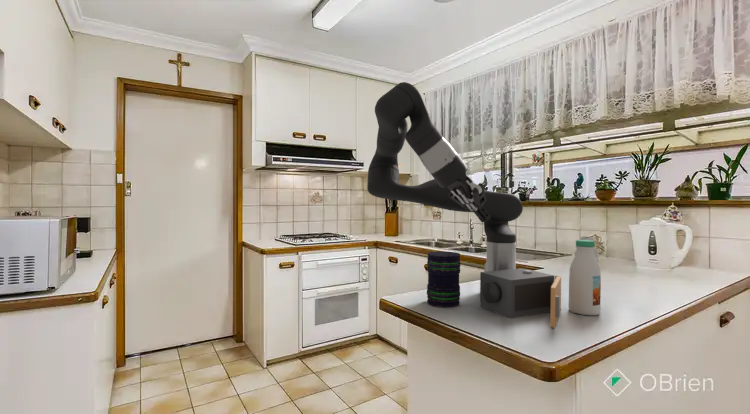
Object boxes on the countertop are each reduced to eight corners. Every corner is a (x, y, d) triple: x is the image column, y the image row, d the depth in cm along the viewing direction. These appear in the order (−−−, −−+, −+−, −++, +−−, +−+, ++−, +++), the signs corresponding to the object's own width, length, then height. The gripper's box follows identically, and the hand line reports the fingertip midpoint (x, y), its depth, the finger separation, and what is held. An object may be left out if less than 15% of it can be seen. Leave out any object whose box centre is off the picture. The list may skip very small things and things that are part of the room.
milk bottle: (583, 317, 101) (585, 242, 100) (562, 309, 108) (563, 239, 108) (607, 315, 103) (608, 241, 102) (584, 307, 110) (585, 238, 110)
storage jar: (445, 310, 107) (445, 257, 106) (419, 302, 114) (420, 253, 114) (467, 303, 113) (467, 254, 113) (441, 297, 120) (442, 250, 120)
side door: (558, 328, 91) (558, 288, 90) (547, 326, 92) (548, 287, 92) (563, 310, 105) (564, 276, 105) (554, 309, 106) (555, 275, 106)
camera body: (504, 319, 99) (505, 278, 98) (474, 307, 110) (474, 270, 109) (554, 311, 106) (555, 273, 106) (521, 300, 117) (521, 266, 117)
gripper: (419, 176, 92) (462, 230, 94) (444, 167, 79) (493, 230, 81) (440, 157, 94) (482, 211, 96) (468, 146, 81) (515, 208, 83)
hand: (487, 220), depth 89 cm, fingers closed
